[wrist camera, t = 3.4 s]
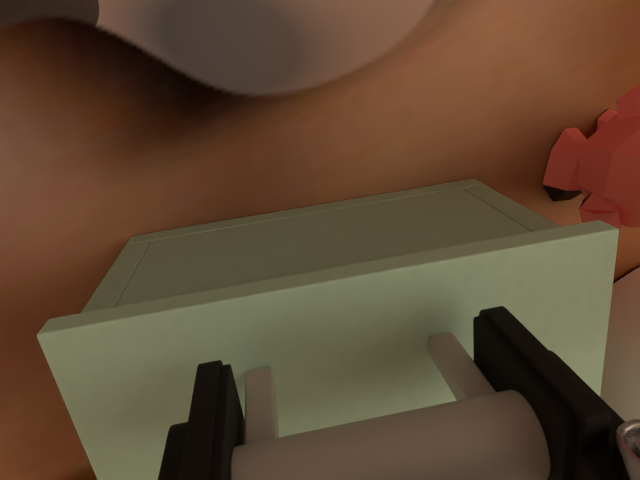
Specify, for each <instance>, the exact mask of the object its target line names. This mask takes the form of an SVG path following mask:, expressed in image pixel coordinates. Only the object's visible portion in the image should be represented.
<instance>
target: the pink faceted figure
mask: <svg viewBox="0 0 640 480" xmlns="http://www.w3.org/2000/svg"><path fill="white" fill-rule="evenodd" d="M639 105H640V84H639V85H638V86H636V87H635V88H633V89H632V90H631V91H629V92H628V93H626V94H625V95H624V96H622V97H621V98H619V99H618V100H617V111H614V110H611V109H608V110H607V111H605V112H604V113H603V114H602V115H601V116H600V117H598V122H597V131H596V132H595V133H594V134H593V135H592V136H590V137H589V138H588V139H586V138H585V137H584V135H583V134H582V133H581V132H580V130H579V129H578V128H577V127H576V128H565V129H564V130H563V132H562V133H561V135H560V137H559V138H558V140H557V141H556V143H555V145H554V146H553V148H552V149H551V152H550V156H549V160H548V164H547V168H546V171H545V175H544V179H543V183H542V185H543V186H544V188H545V190H546V191H547V193H548V194H549V196H550V197H551V199H552V200H553V201H562V200H571V199H572V198H574V197H576V196H577V195H579V194H581V193H583V194H584V196H585V199H584V200H583V202H582V204H581V206H580V208H579V210H580V215H581V220H582V223H585V222H590V221H596V220H601V221H603V222H605V223H607V224H609V225H612V226H614V227H616V228H621V224H622V225H624V226H627V227H640V112H639Z"/></svg>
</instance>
